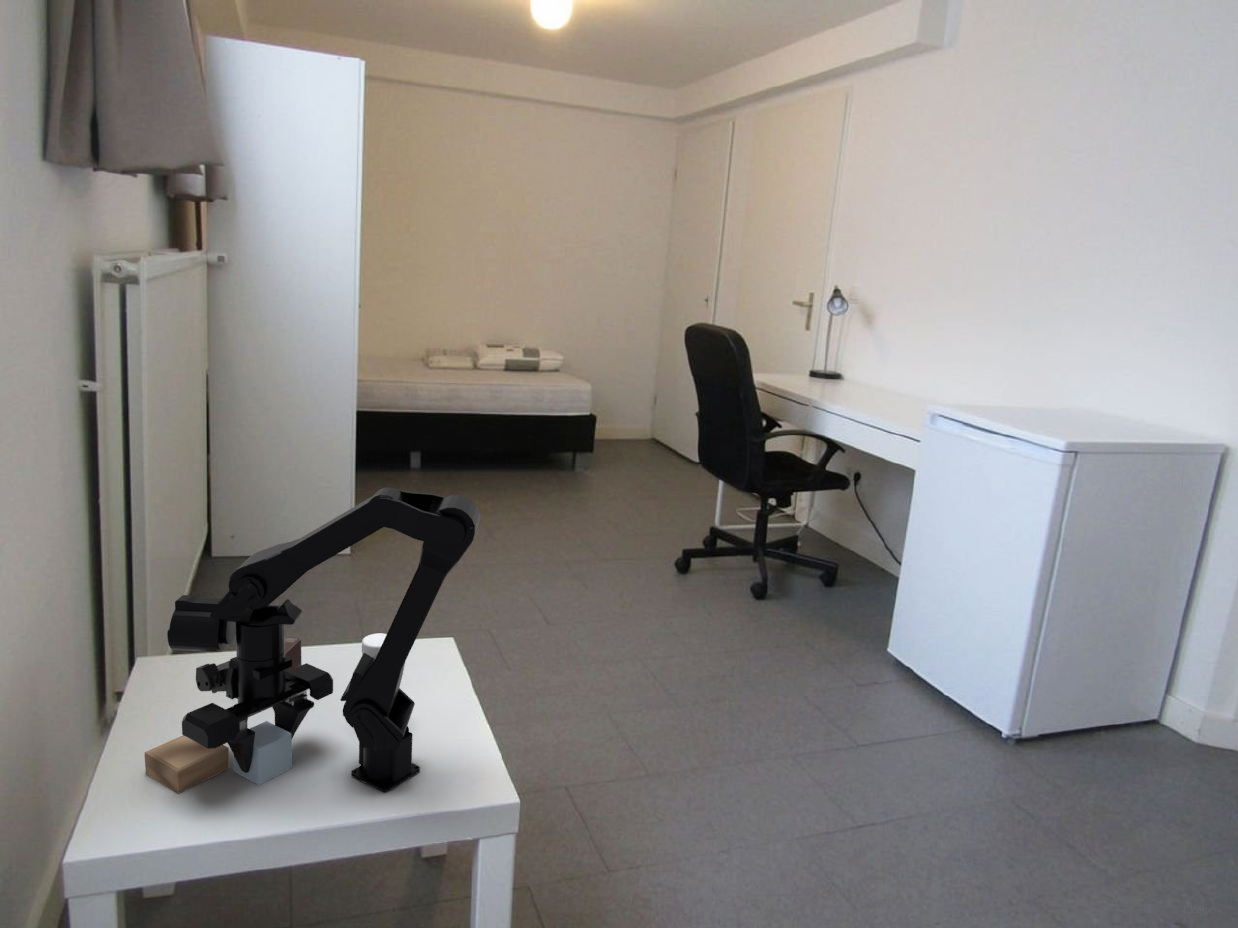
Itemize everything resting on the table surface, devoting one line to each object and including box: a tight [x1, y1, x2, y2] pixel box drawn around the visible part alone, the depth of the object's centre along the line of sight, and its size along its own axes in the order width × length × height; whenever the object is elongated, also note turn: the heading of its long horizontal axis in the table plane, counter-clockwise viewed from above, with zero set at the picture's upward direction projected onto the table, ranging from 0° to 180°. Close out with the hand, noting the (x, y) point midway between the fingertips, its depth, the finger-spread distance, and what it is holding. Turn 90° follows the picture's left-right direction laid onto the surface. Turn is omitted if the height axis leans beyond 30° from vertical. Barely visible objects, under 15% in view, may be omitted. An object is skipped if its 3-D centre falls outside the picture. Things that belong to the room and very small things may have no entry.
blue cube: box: [233, 720, 293, 786], centre depth 115 cm, size 5×5×5 cm
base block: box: [144, 735, 230, 794], centre depth 114 cm, size 7×7×3 cm
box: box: [285, 636, 303, 672], centre depth 136 cm, size 6×6×7 cm
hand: (263, 762), depth 115 cm, fingers closed on blue cube, 5 cm apart
